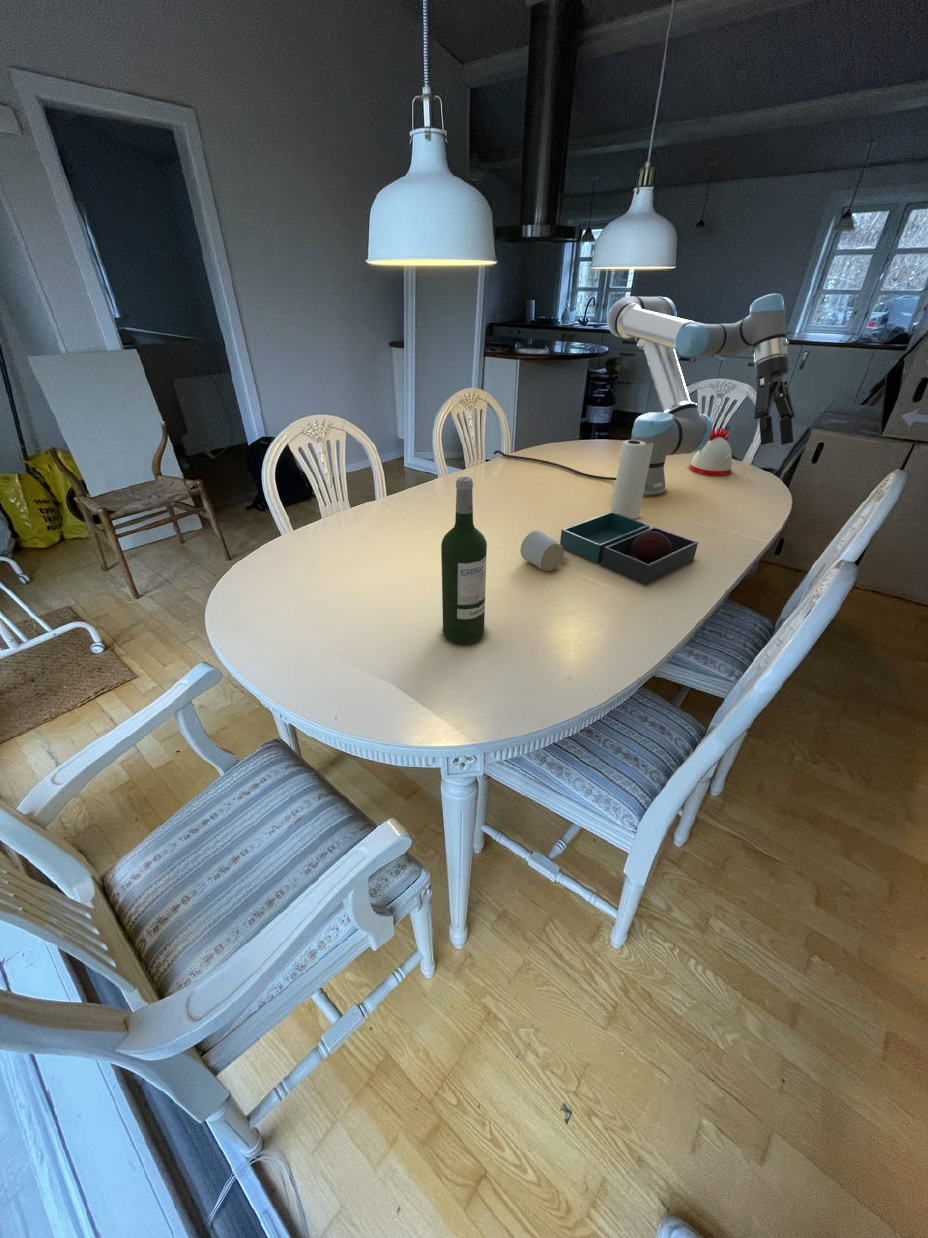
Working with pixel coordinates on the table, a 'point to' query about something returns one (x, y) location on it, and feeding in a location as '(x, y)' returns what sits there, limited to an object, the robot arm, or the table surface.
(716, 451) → the kitchen timer
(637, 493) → the paper towel roll
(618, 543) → the box
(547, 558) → the ceramic mug
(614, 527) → the left tote
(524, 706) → the table surface
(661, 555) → the potato
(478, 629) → the wine bottle
